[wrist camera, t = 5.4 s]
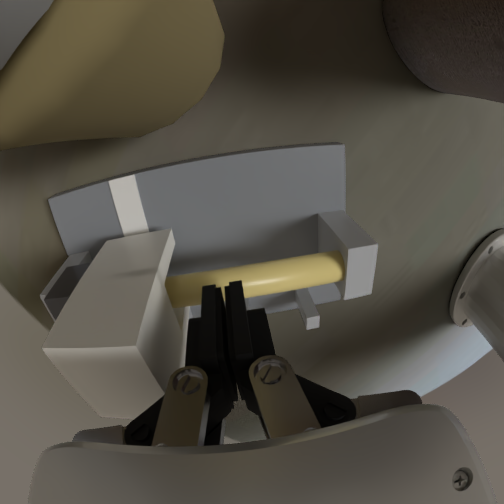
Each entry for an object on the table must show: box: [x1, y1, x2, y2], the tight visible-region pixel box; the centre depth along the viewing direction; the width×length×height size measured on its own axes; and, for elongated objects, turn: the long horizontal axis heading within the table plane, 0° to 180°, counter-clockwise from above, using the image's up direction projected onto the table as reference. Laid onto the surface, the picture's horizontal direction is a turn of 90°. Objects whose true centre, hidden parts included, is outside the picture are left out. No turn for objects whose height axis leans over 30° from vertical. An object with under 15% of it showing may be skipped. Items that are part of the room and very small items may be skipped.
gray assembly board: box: [40, 142, 378, 330], centre depth 15 cm, size 18×11×6 cm, turn 96°
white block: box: [42, 228, 190, 419], centre depth 12 cm, size 4×5×8 cm
